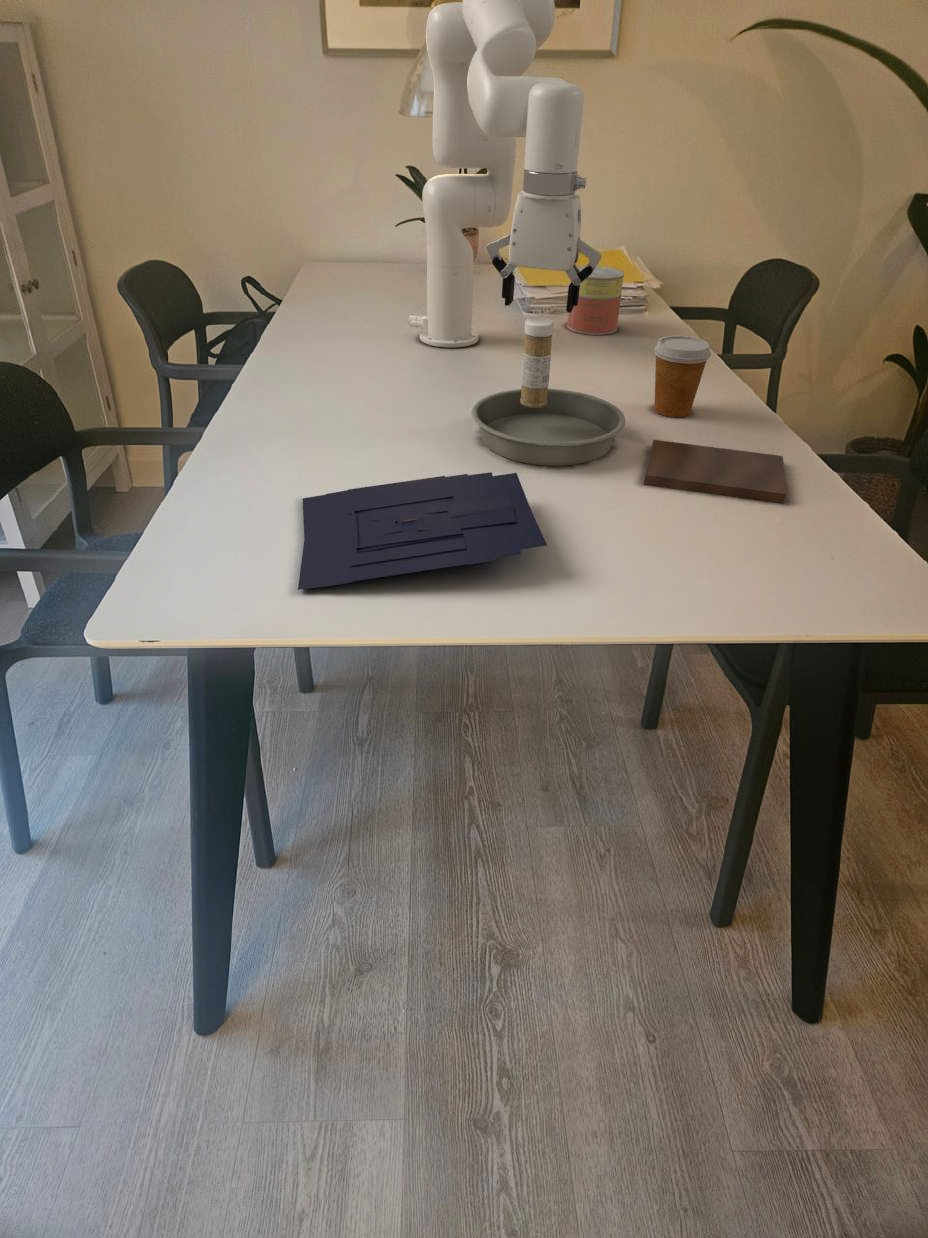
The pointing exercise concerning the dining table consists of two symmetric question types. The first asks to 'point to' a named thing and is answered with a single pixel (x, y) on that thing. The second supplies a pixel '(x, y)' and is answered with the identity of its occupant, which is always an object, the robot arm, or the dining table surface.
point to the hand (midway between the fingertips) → (539, 306)
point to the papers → (414, 527)
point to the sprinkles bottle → (536, 361)
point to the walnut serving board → (716, 471)
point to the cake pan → (548, 427)
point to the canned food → (598, 302)
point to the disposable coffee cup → (678, 373)
